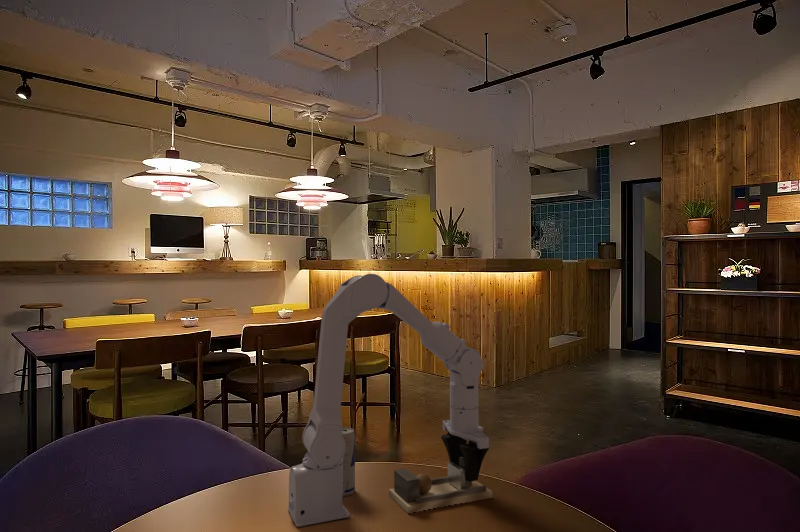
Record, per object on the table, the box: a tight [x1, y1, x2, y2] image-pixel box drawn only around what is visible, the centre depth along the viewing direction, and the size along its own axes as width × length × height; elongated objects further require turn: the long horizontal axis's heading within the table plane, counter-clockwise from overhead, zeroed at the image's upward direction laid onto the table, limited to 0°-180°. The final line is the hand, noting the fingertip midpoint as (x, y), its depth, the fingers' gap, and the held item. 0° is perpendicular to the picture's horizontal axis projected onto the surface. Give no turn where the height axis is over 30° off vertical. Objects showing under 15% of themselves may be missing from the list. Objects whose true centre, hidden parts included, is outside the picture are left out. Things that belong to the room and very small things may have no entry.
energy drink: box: [342, 426, 356, 497], centre depth 98 cm, size 5×5×12 cm
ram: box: [447, 455, 472, 490], centre depth 98 cm, size 4×5×5 cm
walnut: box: [415, 473, 432, 494], centre depth 94 cm, size 4×4×4 cm
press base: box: [388, 468, 493, 514], centre depth 96 cm, size 18×9×5 cm, turn 114°
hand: (464, 475), depth 98 cm, fingers closed on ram, 5 cm apart
